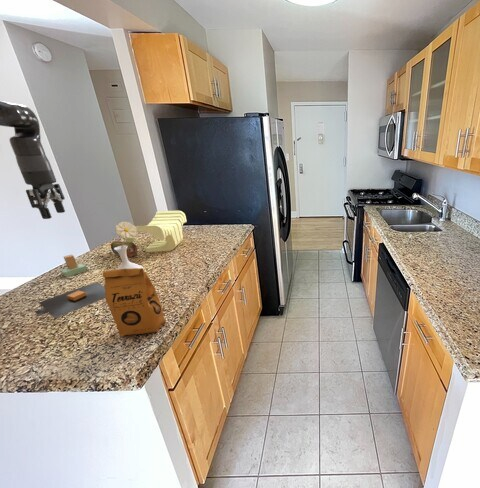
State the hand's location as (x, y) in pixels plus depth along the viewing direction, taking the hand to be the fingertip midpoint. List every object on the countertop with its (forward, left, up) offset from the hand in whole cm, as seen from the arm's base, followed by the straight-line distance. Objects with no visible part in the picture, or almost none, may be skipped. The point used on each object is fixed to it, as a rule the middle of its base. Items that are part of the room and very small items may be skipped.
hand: (54, 215), depth 94 cm
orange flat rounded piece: (-4, -4, -31) cm, 32 cm away
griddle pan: (-4, -5, -33) cm, 33 cm away
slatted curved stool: (+44, +21, -33) cm, 59 cm away
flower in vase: (+17, +1, -33) cm, 37 cm away
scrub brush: (+4, +26, -33) cm, 42 cm away
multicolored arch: (+26, +27, -33) cm, 50 cm away
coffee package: (+1, -44, -33) cm, 55 cm away
